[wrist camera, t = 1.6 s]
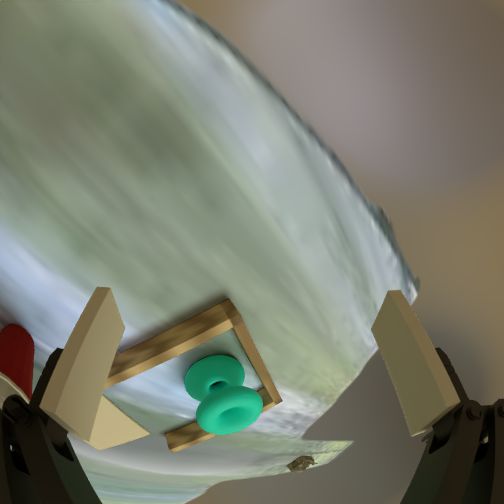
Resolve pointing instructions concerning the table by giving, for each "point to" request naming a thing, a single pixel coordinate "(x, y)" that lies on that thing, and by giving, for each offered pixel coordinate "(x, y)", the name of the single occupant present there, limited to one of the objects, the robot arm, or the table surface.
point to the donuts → (222, 395)
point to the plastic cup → (16, 363)
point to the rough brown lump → (301, 464)
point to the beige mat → (113, 426)
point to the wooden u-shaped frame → (182, 341)
